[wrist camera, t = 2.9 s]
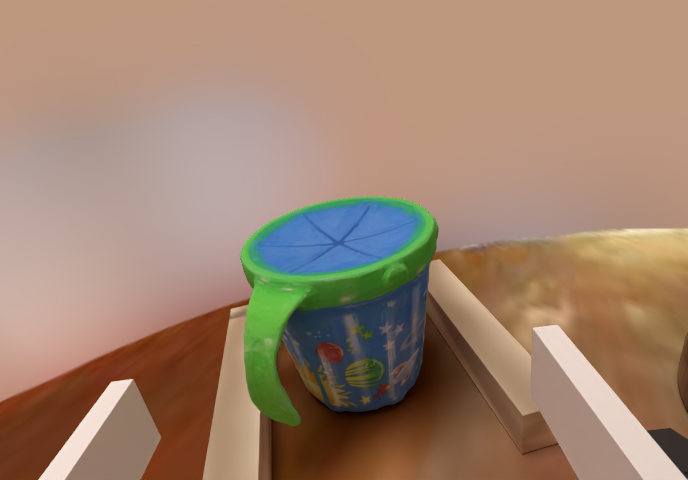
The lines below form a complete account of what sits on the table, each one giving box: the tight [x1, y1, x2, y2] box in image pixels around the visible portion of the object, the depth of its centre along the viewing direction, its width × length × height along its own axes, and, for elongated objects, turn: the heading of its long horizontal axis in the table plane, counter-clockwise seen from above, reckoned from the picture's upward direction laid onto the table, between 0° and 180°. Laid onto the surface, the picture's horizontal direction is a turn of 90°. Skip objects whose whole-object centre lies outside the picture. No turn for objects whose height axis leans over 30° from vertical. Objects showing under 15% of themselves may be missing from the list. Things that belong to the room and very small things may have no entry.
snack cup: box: [241, 197, 438, 427], centre depth 23 cm, size 16×10×10 cm
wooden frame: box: [203, 259, 558, 480], centre depth 25 cm, size 17×16×2 cm
